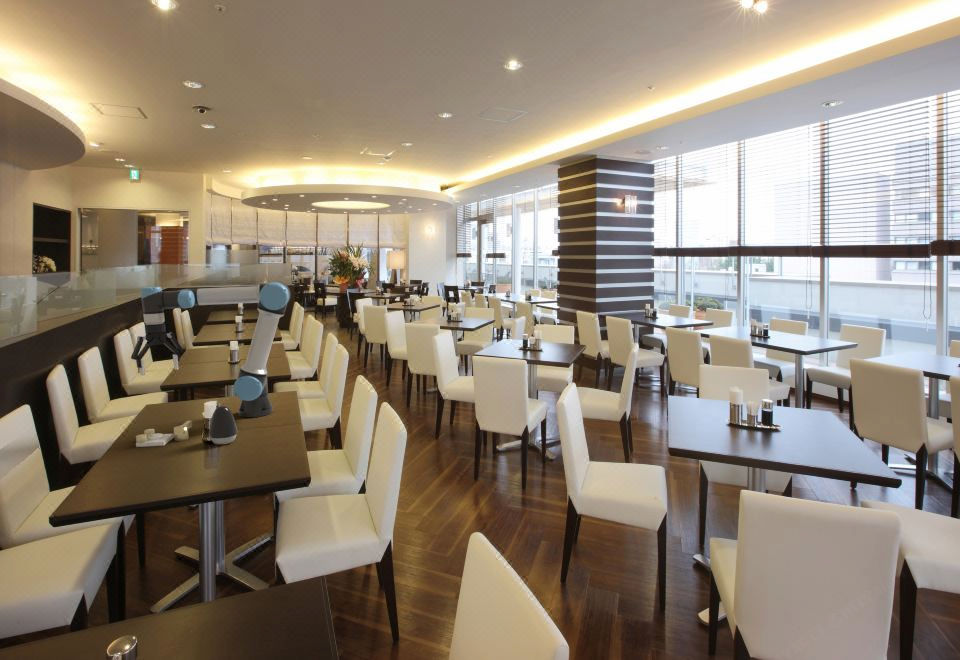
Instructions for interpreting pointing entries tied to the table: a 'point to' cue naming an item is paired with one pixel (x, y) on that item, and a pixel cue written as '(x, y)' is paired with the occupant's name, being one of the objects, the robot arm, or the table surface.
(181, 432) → the footscrew knob
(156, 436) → the levelling base
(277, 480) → the table surface
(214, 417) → the dark grey egg-shaped device
